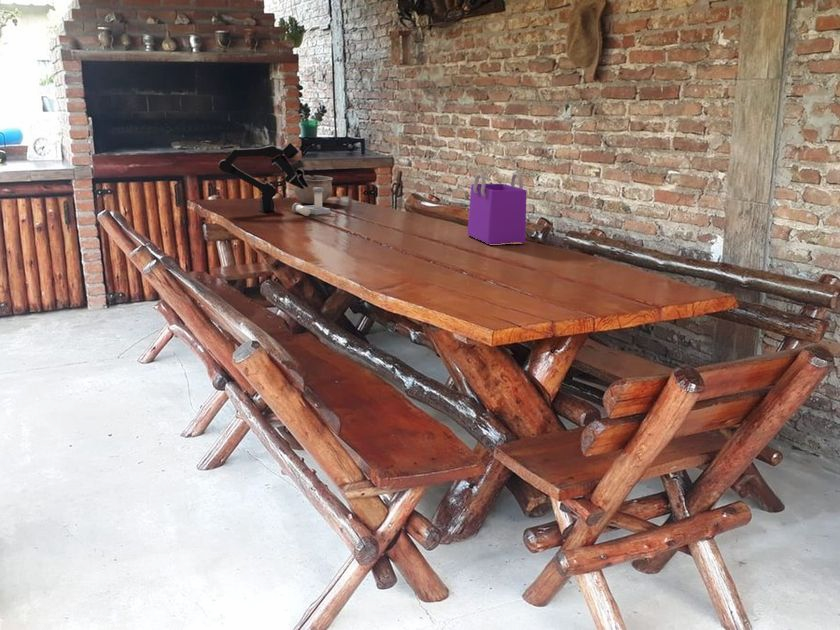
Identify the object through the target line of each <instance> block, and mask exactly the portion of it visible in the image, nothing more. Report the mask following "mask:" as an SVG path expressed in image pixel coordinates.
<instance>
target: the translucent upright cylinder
mask: <svg viewBox="0 0 840 630" xmlns="http://www.w3.org/2000/svg"><path fill="white" fill-rule="evenodd" d="M313 192H314V193H315V204H314V205H315V209H322V207H323V203H322V192H323V188H321V187H315V188H313Z"/></svg>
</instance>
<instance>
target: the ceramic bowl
mask: <svg viewBox="0 0 840 630" xmlns="http://www.w3.org/2000/svg"><path fill="white" fill-rule="evenodd" d="M304 179H305V180H306V182H307V184H308V187H305V186H303V187H304V189H301V188H299V187H297V186H295V185H293V192H294V193H295V196H296V198H298V199H299V201H300V202H302V203H303V204H307V205H308V204H310V205H315V193H314V192H313V188H315V187H321V188H323V192H322V204H323V203H324V202H326V201H327V200H328V199H329V198H330V196H332V194H333V185H332V182H333V180H334V178H333V177H330V176H326V175H325V176H324V175H316V174H315V175H314V174H313V176H311V175H308V174H307V175H305V174H304Z"/></svg>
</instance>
